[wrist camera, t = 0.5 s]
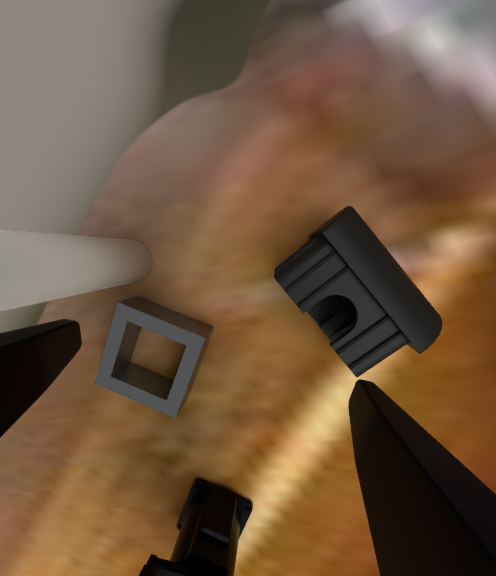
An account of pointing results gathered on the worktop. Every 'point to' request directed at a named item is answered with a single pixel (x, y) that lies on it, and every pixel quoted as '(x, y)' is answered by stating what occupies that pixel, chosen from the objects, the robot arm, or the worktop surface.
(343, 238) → the end cap
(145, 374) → the square frame
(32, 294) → the white tapered peg
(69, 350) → the robot arm
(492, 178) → the worktop surface
